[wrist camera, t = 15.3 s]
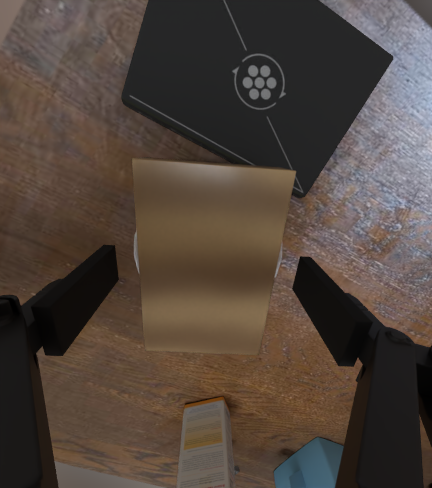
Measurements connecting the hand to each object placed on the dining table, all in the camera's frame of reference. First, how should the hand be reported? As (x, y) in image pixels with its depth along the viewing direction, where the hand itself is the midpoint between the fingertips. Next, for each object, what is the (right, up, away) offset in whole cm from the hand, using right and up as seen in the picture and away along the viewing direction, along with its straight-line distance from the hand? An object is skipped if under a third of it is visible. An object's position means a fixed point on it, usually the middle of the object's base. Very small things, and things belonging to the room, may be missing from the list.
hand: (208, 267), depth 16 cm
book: (+4, +18, +8) cm, 21 cm away
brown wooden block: (0, +1, +2) cm, 2 cm away
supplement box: (-1, -31, +28) cm, 42 cm away
